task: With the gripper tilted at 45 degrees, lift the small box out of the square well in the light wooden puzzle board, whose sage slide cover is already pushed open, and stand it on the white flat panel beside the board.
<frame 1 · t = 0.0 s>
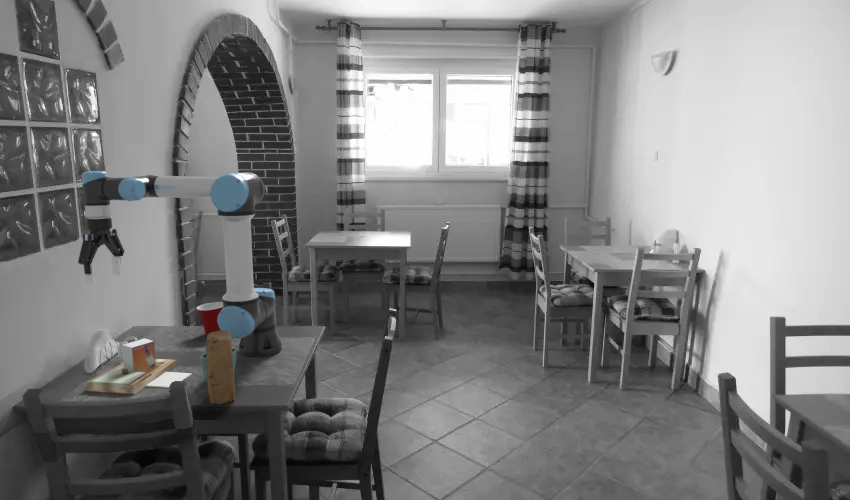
hand: (104, 279, 199), 28 cm above the table, tool pointing down, fingers open, 13 cm apart
flower pot: (220, 380, 185), on the table
white flat panel: (169, 380, 184), on the table
small box: (140, 374, 190), resting in puzzle board
block: (222, 398, 172), on the table
puzzle board: (140, 373, 190), on the table
plastic cup: (212, 334, 229), on the table
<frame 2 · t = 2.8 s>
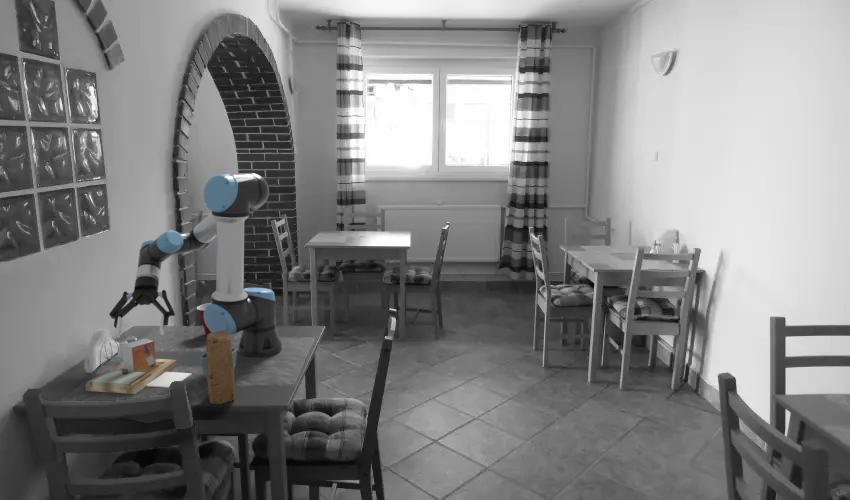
hand: (139, 335, 194), 11 cm above the table, tool tilted 45°, fingers open, 13 cm apart
nothing on the table moved.
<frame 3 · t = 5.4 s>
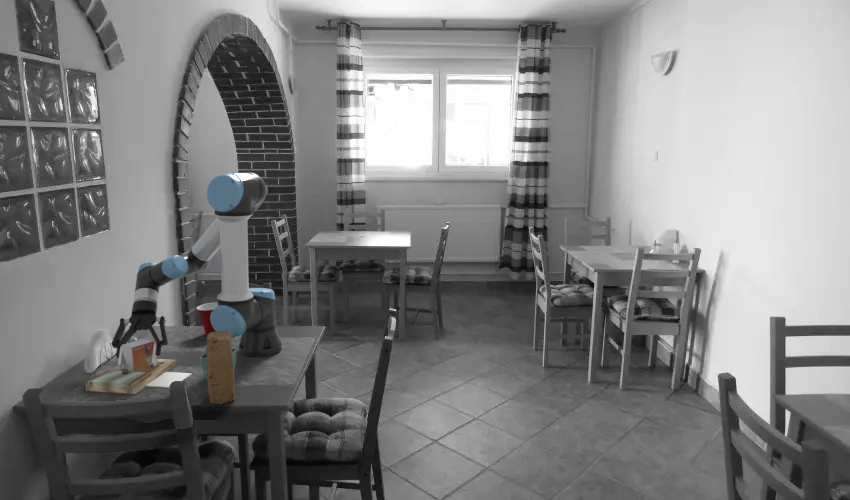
hand: (137, 365, 186), 4 cm above the table, tool tilted 45°, fingers closed on small box, 9 cm apart
small box: (140, 373, 190), resting in puzzle board, touching gripper
everything else where it was.
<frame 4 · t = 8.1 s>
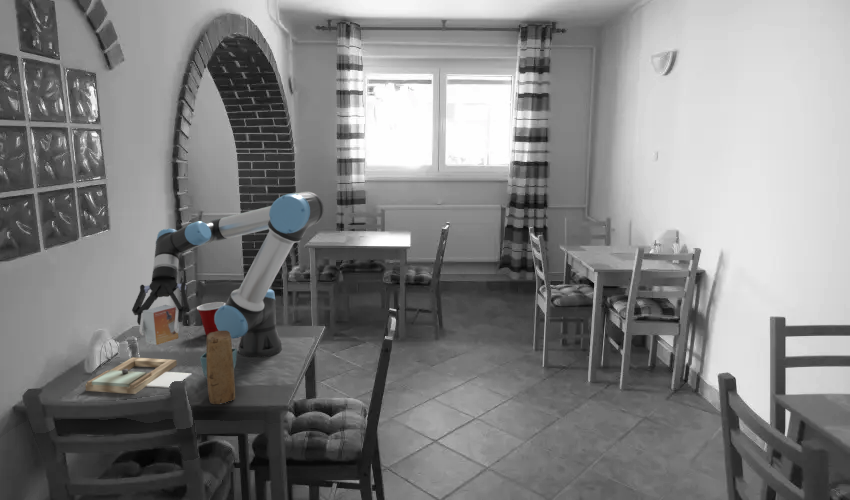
hand: (159, 331, 179), 17 cm above the table, tool tilted 45°, fingers closed on small box, 9 cm apart
small box: (162, 341, 183), point 13 cm above the table, touching gripper
everything else where it was.
when the fingers open (6 cm above the table, at t = 10.9 s): small box drops 2 cm, resting on white flat panel.
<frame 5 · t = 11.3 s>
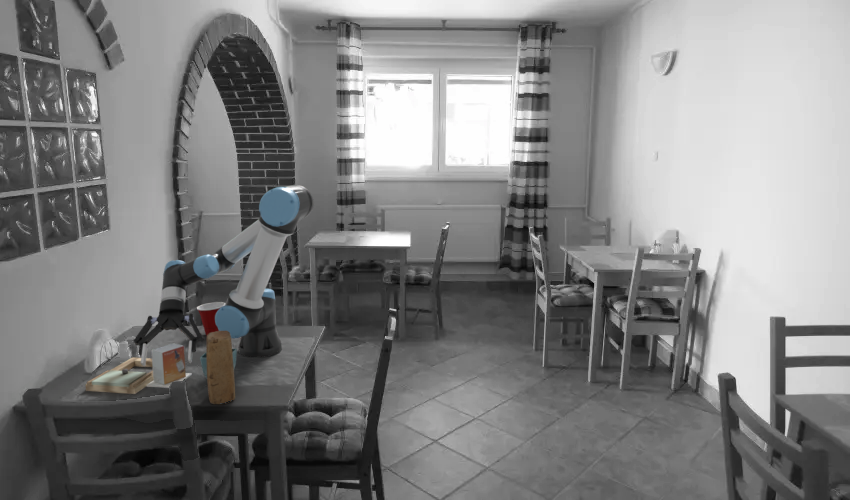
hand: (166, 363, 181), 7 cm above the table, tool tilted 45°, fingers open, 13 cm apart
small box: (170, 379, 184), resting on white flat panel
everything else where it was.
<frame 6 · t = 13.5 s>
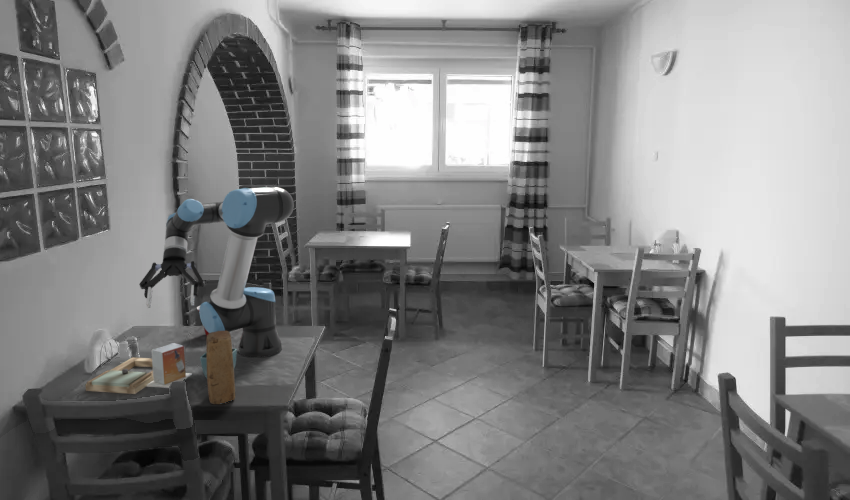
hand: (170, 304, 194), 21 cm above the table, tool tilted 45°, fingers open, 13 cm apart
nothing on the table moved.
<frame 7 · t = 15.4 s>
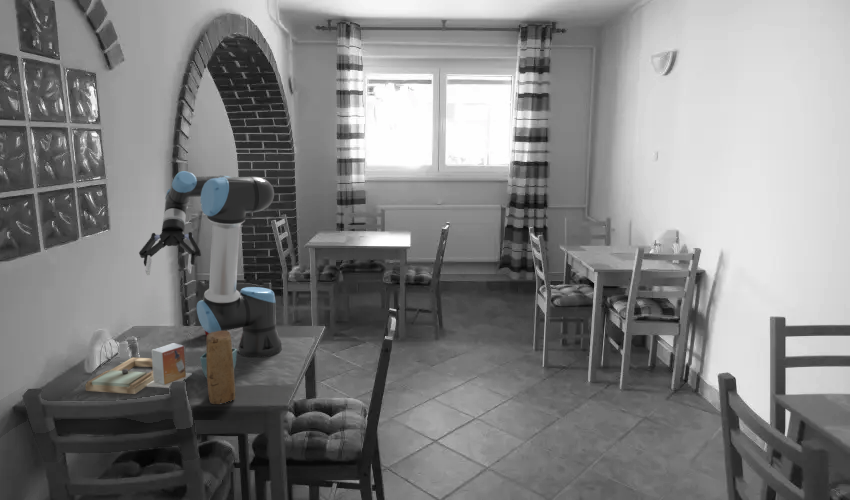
hand: (168, 272, 203), 30 cm above the table, tool tilted 45°, fingers open, 13 cm apart
nothing on the table moved.
at the end: small box inside the target area (0.1 cm from its centre), resting on white flat panel; small box tilted 0°; the gripper is holding nothing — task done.
